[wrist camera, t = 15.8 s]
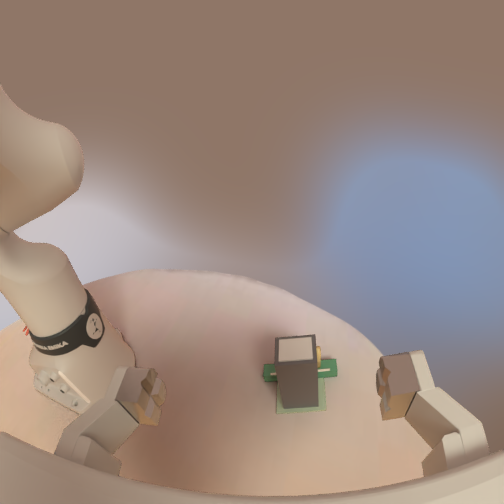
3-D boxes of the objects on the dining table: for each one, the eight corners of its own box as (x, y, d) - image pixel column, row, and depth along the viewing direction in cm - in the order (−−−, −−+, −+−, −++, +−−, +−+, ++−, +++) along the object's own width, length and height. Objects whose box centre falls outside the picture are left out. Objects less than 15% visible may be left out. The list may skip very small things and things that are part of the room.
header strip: (264, 381, 41) (258, 358, 38) (265, 370, 43) (259, 346, 40) (336, 376, 39) (337, 352, 37) (335, 364, 41) (336, 340, 38)
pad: (276, 413, 36) (276, 413, 36) (277, 381, 41) (277, 380, 41) (326, 410, 35) (326, 409, 35) (324, 378, 40) (324, 377, 40)
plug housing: (283, 408, 37) (274, 364, 31) (284, 384, 40) (275, 336, 35) (318, 406, 36) (317, 361, 30) (317, 381, 39) (315, 333, 34)
